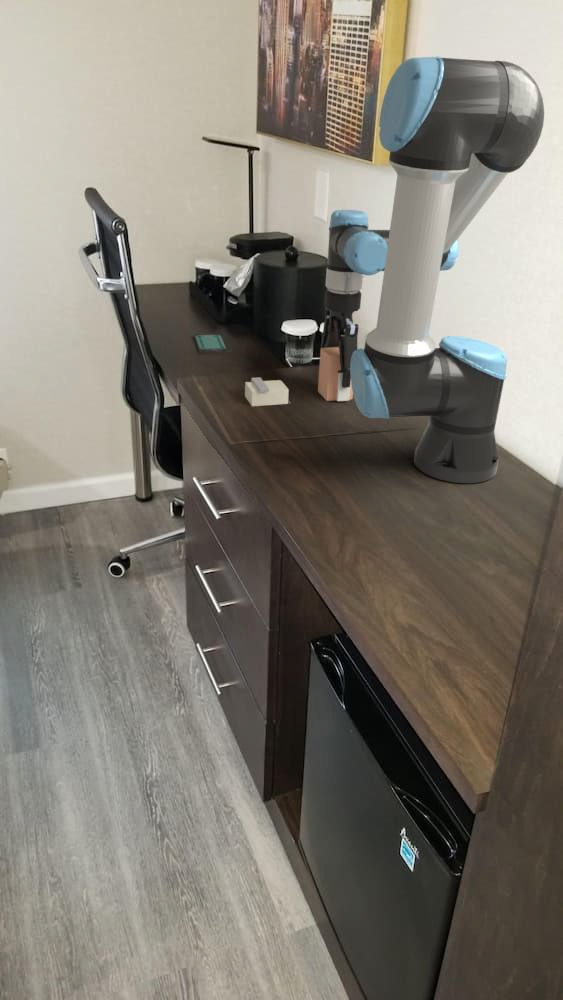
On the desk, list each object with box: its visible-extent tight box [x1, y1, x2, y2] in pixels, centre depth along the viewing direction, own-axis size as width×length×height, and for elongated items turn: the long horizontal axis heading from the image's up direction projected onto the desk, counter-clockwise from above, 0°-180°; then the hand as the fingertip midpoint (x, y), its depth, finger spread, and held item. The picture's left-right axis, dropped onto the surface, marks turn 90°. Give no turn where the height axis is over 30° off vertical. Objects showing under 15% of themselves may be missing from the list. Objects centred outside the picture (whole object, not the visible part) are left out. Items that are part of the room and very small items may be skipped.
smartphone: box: [193, 333, 228, 355], centre depth 200 cm, size 7×1×15 cm
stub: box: [317, 346, 354, 402], centre depth 165 cm, size 6×6×10 cm
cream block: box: [244, 377, 292, 407], centre depth 163 cm, size 7×9×5 cm
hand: (335, 392), depth 168 cm, fingers open, 9 cm apart
